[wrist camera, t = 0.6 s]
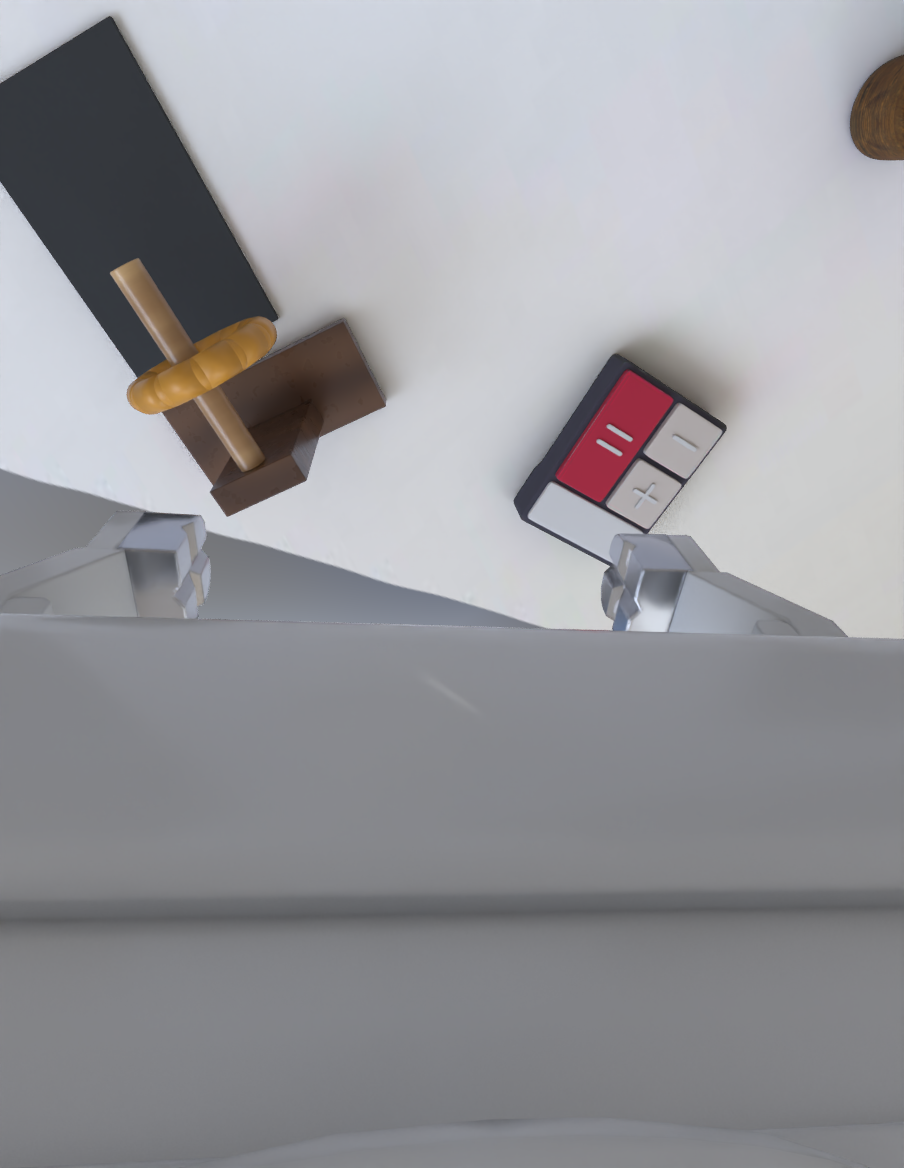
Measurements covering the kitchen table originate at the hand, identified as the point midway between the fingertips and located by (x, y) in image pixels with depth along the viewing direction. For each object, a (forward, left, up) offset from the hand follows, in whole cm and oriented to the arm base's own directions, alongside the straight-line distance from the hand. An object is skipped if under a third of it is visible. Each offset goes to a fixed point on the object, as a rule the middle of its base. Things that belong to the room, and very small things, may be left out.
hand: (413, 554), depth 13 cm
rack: (+4, -12, -42) cm, 44 cm away
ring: (+3, -13, -32) cm, 35 cm away
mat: (-5, -18, -42) cm, 46 cm away
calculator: (+16, +17, -42) cm, 48 cm away
